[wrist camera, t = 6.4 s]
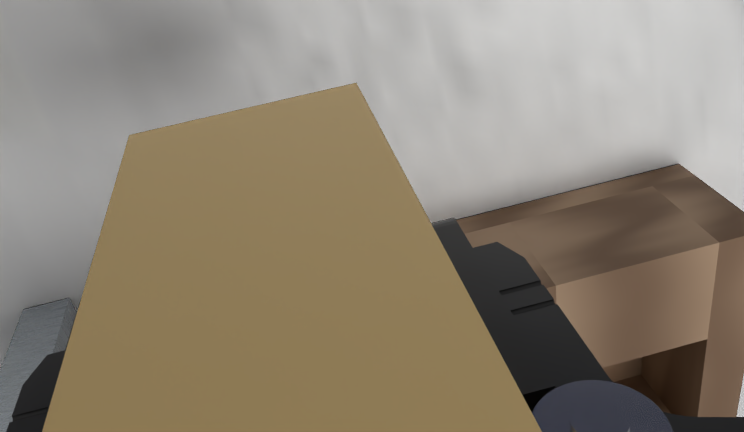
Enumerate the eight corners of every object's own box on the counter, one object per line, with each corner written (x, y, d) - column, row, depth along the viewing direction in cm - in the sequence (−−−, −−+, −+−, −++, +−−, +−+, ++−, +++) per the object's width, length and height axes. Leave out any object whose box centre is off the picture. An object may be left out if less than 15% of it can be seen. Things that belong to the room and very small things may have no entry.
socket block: (679, 164, 27) (768, 229, 22) (658, 412, 34) (722, 497, 30) (221, 279, 25) (222, 373, 21) (303, 513, 32) (316, 617, 28)
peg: (356, 82, 12) (689, 707, 4) (390, 266, 14) (651, 941, 6) (129, 135, 12) (-114, 958, 3) (198, 315, 14) (162, 1109, 5)
